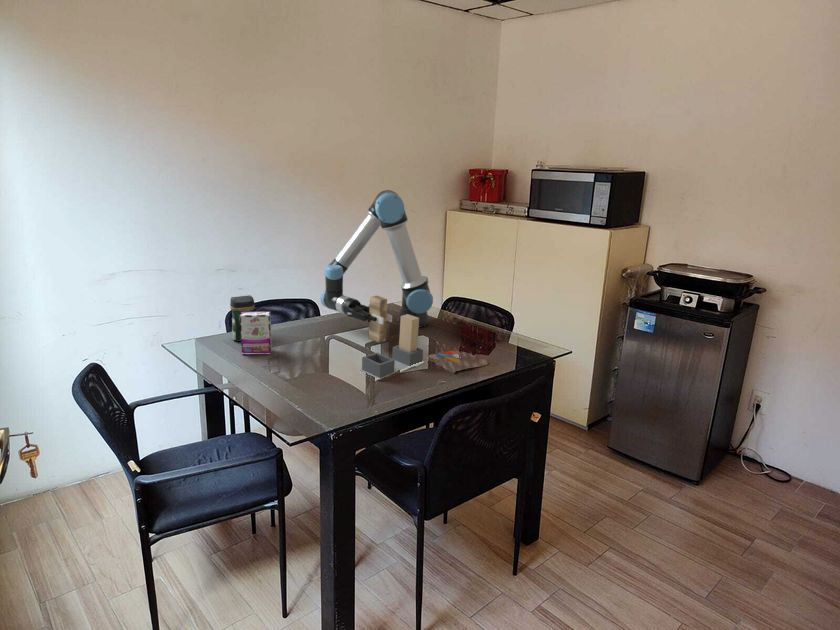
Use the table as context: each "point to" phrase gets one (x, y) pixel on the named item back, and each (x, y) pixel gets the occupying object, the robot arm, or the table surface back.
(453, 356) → the wooden puzzle
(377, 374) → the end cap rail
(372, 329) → the oak slat
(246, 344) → the candy bar box
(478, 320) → the table surface
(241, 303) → the coffee jar
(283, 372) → the table surface
